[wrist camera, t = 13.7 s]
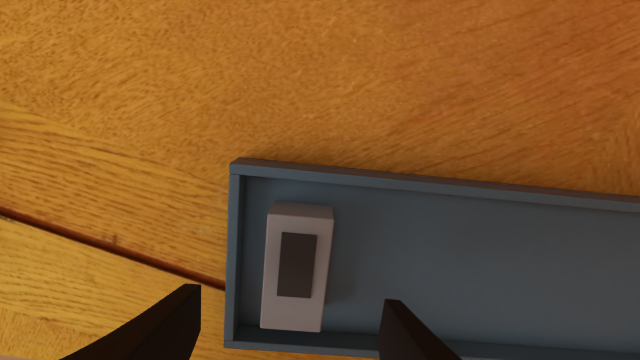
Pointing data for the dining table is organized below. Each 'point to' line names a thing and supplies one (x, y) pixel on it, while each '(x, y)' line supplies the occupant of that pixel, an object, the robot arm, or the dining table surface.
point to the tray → (445, 263)
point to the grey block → (296, 265)
